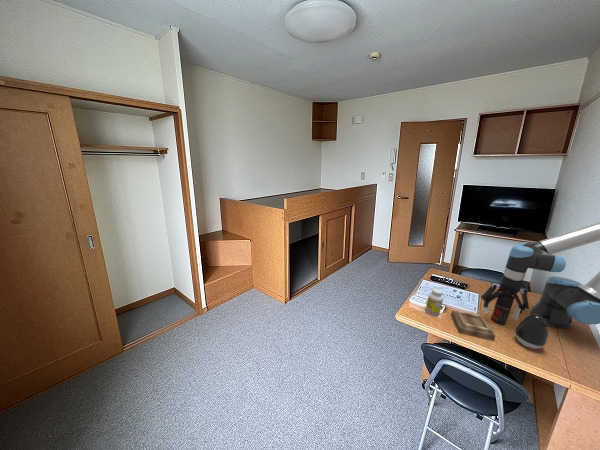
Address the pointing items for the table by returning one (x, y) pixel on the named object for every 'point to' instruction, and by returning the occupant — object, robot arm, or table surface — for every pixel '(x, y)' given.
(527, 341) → the black rounded dome
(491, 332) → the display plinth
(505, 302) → the deodorant
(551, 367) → the table surface
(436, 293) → the supplement bottle
